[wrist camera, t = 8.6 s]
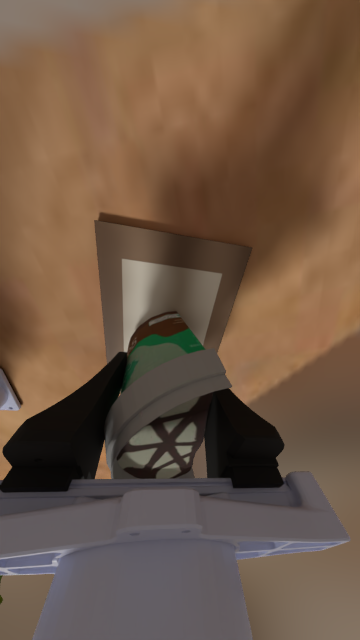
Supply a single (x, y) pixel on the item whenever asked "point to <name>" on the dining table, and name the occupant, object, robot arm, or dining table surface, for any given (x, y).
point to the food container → (162, 401)
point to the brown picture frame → (165, 282)
